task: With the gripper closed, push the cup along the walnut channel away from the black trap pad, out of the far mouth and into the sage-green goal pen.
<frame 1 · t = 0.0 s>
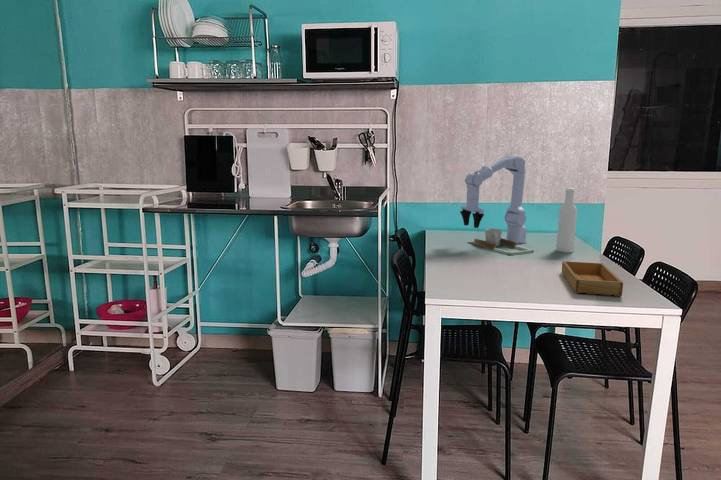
hand: (471, 226, 261), 10 cm above the table, tool pointing down, fingers open, 7 cm apart
cup: (493, 246, 265), on the table
goal pen: (512, 251, 254), on the table
tray: (589, 285, 199), on the table
channel: (494, 246, 264), on the table
bottle: (564, 251, 256), on the table
trap pad: (481, 242, 273), on the table
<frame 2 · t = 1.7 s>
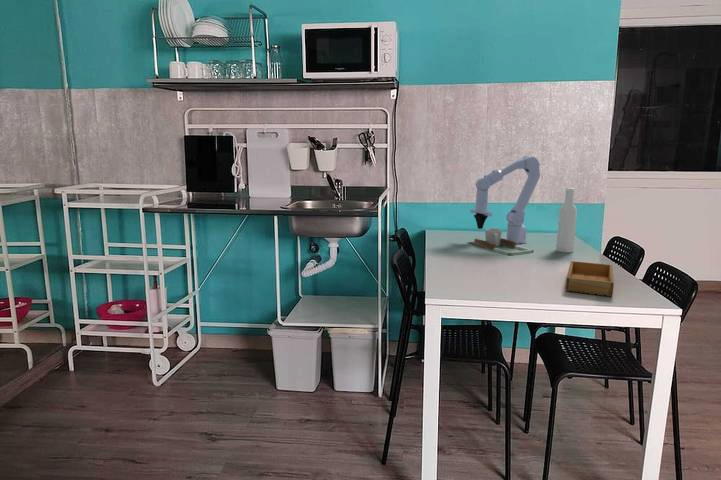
hand: (480, 228, 273), 7 cm above the table, tool pointing down, fingers closed
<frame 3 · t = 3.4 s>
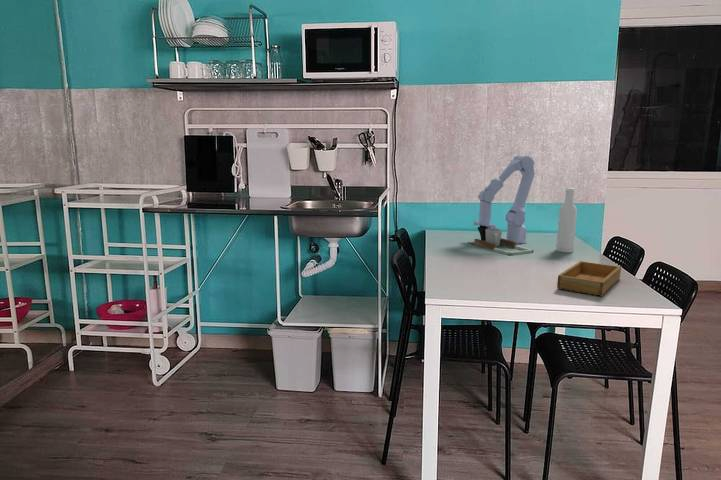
hand: (483, 240, 272), 1 cm above the table, tool pointing down, fingers closed
cup: (493, 246, 265), on the table, touching gripper
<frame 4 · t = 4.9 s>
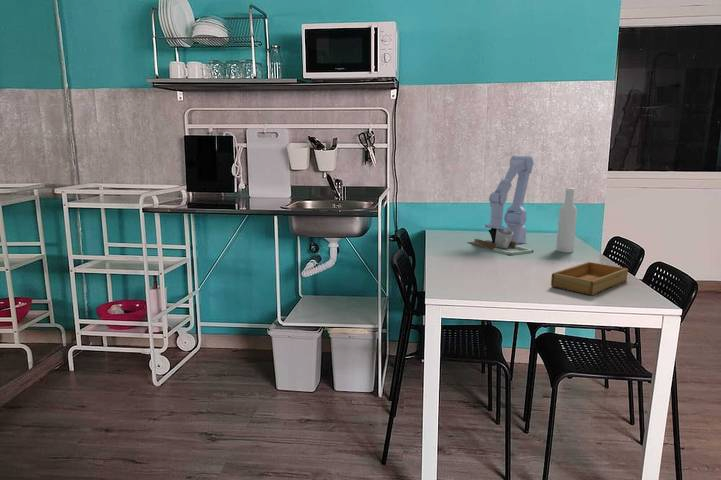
hand: (494, 244, 264), 1 cm above the table, tool pointing down, fingers closed
cup: (501, 247, 260), on the table, touching gripper
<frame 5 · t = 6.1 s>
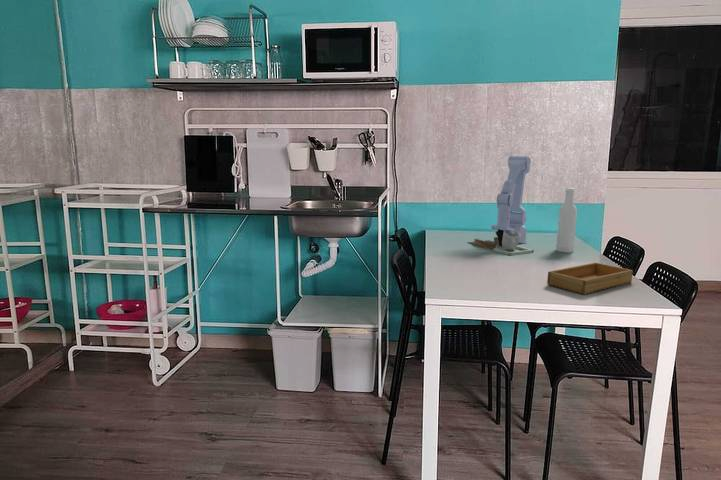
hand: (501, 245, 260), 1 cm above the table, tool pointing down, fingers closed
cup: (508, 249, 256), on the table, touching gripper
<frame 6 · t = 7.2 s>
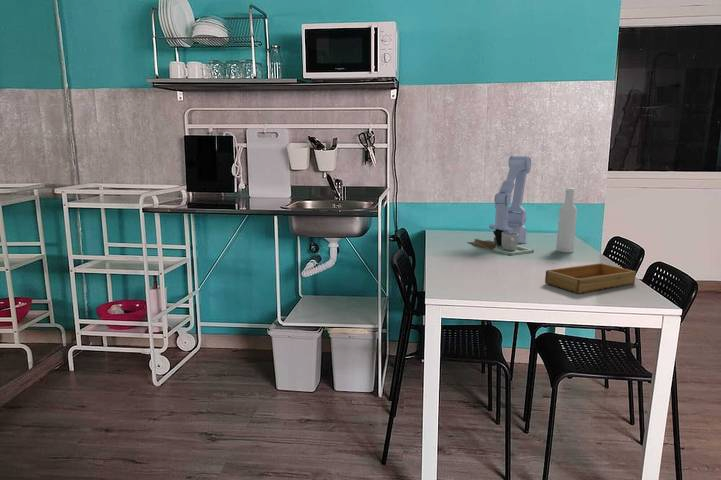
hand: (499, 245, 261), 1 cm above the table, tool pointing down, fingers closed
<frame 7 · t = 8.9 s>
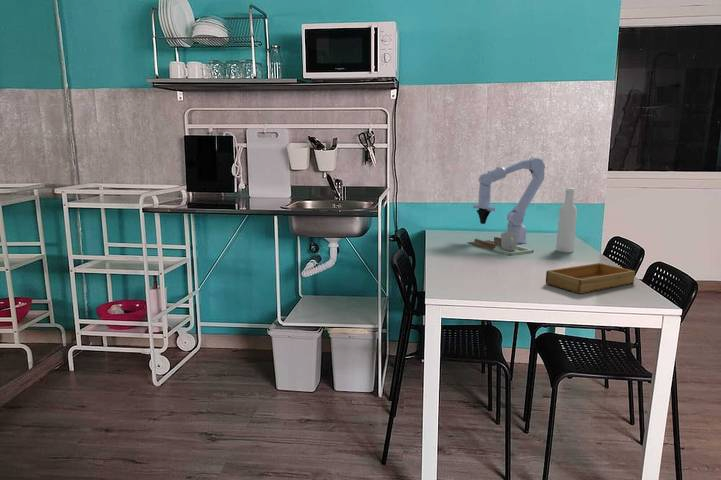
hand: (482, 223, 274), 9 cm above the table, tool pointing down, fingers closed
cup: (509, 251, 255), on the table
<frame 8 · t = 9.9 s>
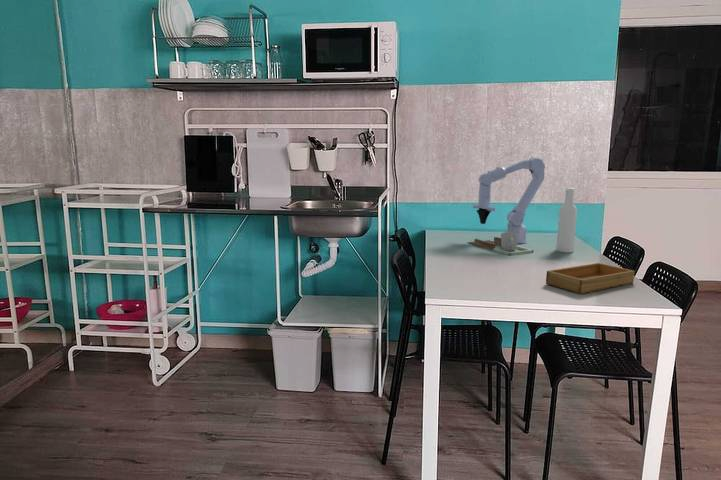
hand: (482, 223, 274), 9 cm above the table, tool pointing down, fingers closed
at the end: cup inside the target area (2.0 cm from its centre), on the table; cup tilted 0°; cup moved 11.5 cm from its start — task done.
